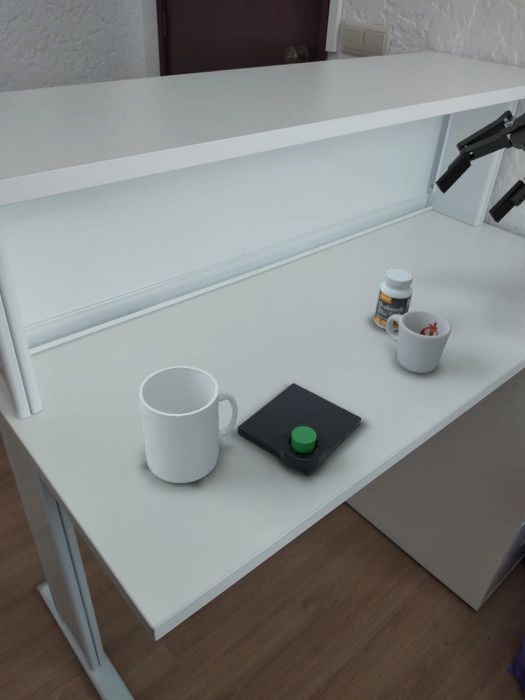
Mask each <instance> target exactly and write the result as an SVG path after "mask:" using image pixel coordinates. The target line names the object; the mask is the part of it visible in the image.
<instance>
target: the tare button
mask: <svg viewBox="0 0 525 700" xmlns="http://www.w3.org/2000/svg"><path fill="white" fill-rule="evenodd" d="M316 437H317V435H316V432H315V431H314V430H313V429H311V428H309V427H306V426H300V427H297V428H295V429H294V430H293V431H292V436H291V446H292V448H293V449H294V450H295V451H297V452H300V453H309V452H311V451H313V450H314V448H315V445H316Z"/></svg>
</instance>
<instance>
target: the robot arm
mask: <svg viewBox="0 0 525 700" xmlns="http://www.w3.org/2000/svg"><path fill="white" fill-rule="evenodd" d="M455 146H456V148H457V150H458V152H459V154H458V155H457V156H456V157H455V159H453V160H452V161H451V163H450V164H449V165H448V166H447V169H446V171H445V172H444V173H443V174H442V175H440V177H439V178H438V179H437V180H436V181H435V182H434V183H435V185H436V186H437V188H438V189H439V191H440V193H442V194H445V193H446V192H448V190H449V189H450V188H452V187H453V186H454V185H455V183H457V181H458V180H459V179H461V177H462V176H463V175H464V174H465V173H466V171H467V170H468V169H470V167H472V161H475V160H477V159H480V158H483V157H485V156H487V155H490V154H493V153H495V152H497V151H500V150H503V149H511V148H514V149H517V150H521V151H523V152H525V112H524V113H522V114H520V115H519V116H515V115H513V113H512V111H511V110H509V109H508V110H505V111H504V112H503V113H502V114H501V115H500V116H499V117H498V118H496V119H495V120H493V121H492V122H490V123H488V124H487V125H485V126H484V127H482V128H480V129H479V130H477V131H475V132H474V133H472V134H470V135H469V136H467V137H466V138H464V139H462V140H461V141H459V142H457V143H456V145H455ZM523 202H525V177H523V180H521V179H518V180H517V181H516V182H515V184H513V186H511V187H510V188H509V190H508V191H507V192H506V193H504V195H503V196H502V197H501V198H500V199H499V200H498V201H496V203H495V204H494V205H493V206H492V207H491V208H490V209H489V210H488V213H489V215H490V216H491V218H492V219H493V221H494V222H495V223H497V224H499V223H500V222H501V221H502V219H504V218H505V216H506V215H508V214H509V213H510V211H511V210H512V209H514V207H519V206H520V205H522V204H523Z"/></svg>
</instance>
